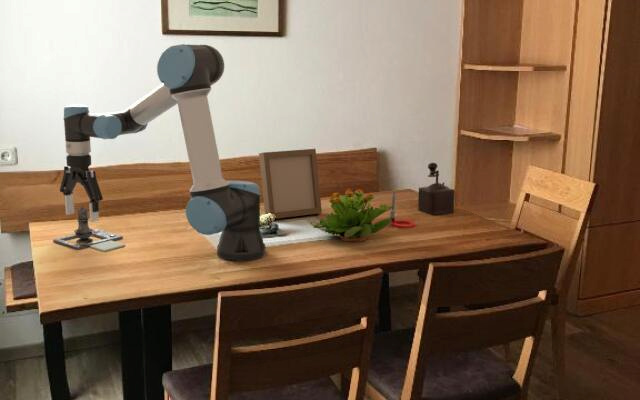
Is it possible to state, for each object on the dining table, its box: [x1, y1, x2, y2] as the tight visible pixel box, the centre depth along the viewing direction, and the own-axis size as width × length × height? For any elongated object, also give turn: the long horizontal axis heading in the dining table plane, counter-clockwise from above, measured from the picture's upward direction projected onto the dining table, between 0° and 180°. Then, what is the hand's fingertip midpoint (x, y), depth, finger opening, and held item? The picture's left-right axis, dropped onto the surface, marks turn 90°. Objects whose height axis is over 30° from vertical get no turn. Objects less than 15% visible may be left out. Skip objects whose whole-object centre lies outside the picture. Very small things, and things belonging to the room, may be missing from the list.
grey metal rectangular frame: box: [52, 228, 124, 251], centre depth 232 cm, size 14×17×1 cm
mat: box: [89, 240, 126, 253], centre depth 225 cm, size 8×8×1 cm
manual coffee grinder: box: [417, 162, 456, 216], centre depth 276 cm, size 16×11×18 cm
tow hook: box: [387, 189, 416, 229], centre depth 254 cm, size 8×13×9 cm
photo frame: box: [258, 148, 323, 220], centre depth 266 cm, size 15×22×25 cm
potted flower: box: [309, 188, 393, 243], centre depth 236 cm, size 25×24×18 cm
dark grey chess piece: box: [73, 205, 94, 244], centre depth 230 cm, size 6×6×12 cm
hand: (82, 217), depth 229 cm, fingers open, 13 cm apart
